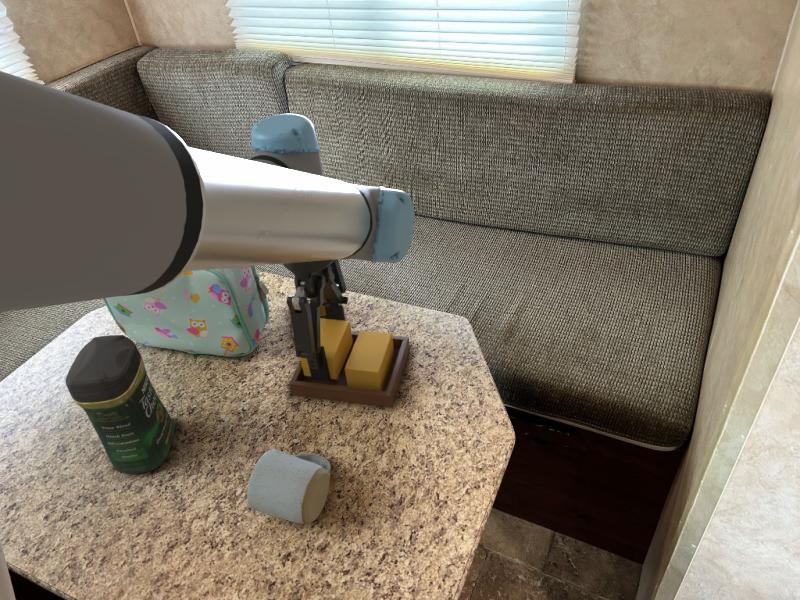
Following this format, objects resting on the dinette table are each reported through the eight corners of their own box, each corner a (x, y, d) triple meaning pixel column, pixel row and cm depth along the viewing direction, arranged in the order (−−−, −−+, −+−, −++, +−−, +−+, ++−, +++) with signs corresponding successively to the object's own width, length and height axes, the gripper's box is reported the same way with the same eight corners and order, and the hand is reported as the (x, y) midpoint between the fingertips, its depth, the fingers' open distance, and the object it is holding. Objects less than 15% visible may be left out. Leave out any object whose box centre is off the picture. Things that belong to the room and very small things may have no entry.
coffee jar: (167, 474, 83) (115, 380, 71) (109, 479, 83) (48, 386, 71) (182, 418, 90) (139, 325, 78) (130, 423, 90) (78, 331, 78)
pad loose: (337, 379, 90) (332, 358, 88) (304, 375, 91) (299, 355, 89) (353, 341, 97) (349, 320, 94) (322, 338, 98) (318, 317, 95)
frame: (391, 408, 88) (389, 396, 87) (292, 395, 92) (288, 383, 90) (410, 348, 98) (408, 336, 96) (319, 339, 101) (316, 327, 100)
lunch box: (287, 324, 105) (259, 218, 91) (262, 367, 97) (228, 258, 84) (152, 309, 111) (107, 208, 97) (119, 348, 103) (66, 244, 90)
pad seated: (381, 393, 90) (378, 372, 87) (348, 389, 91) (344, 368, 88) (394, 353, 96) (392, 333, 93) (363, 350, 97) (360, 330, 95)
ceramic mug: (312, 539, 73) (301, 502, 69) (253, 521, 76) (239, 485, 71) (346, 468, 81) (338, 431, 76) (292, 454, 84) (281, 417, 79)
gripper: (303, 286, 71) (332, 413, 85) (354, 195, 87) (371, 315, 101) (244, 281, 72) (282, 406, 87) (305, 192, 88) (329, 311, 103)
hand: (330, 357), depth 94 cm, fingers closed on pad loose, 8 cm apart
